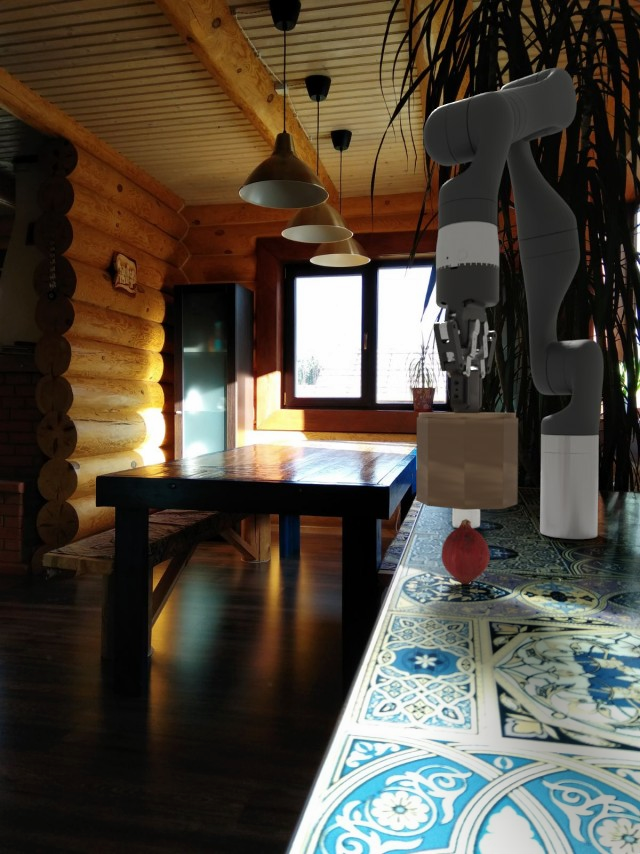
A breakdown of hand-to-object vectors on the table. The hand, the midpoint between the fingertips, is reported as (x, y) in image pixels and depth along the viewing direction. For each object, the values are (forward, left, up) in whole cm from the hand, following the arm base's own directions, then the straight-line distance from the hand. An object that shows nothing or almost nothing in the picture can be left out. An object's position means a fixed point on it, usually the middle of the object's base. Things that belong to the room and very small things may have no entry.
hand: (466, 407), depth 79 cm
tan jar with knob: (0, 0, -12) cm, 12 cm away
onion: (0, 0, -22) cm, 22 cm away
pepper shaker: (-36, -16, -22) cm, 45 cm away
